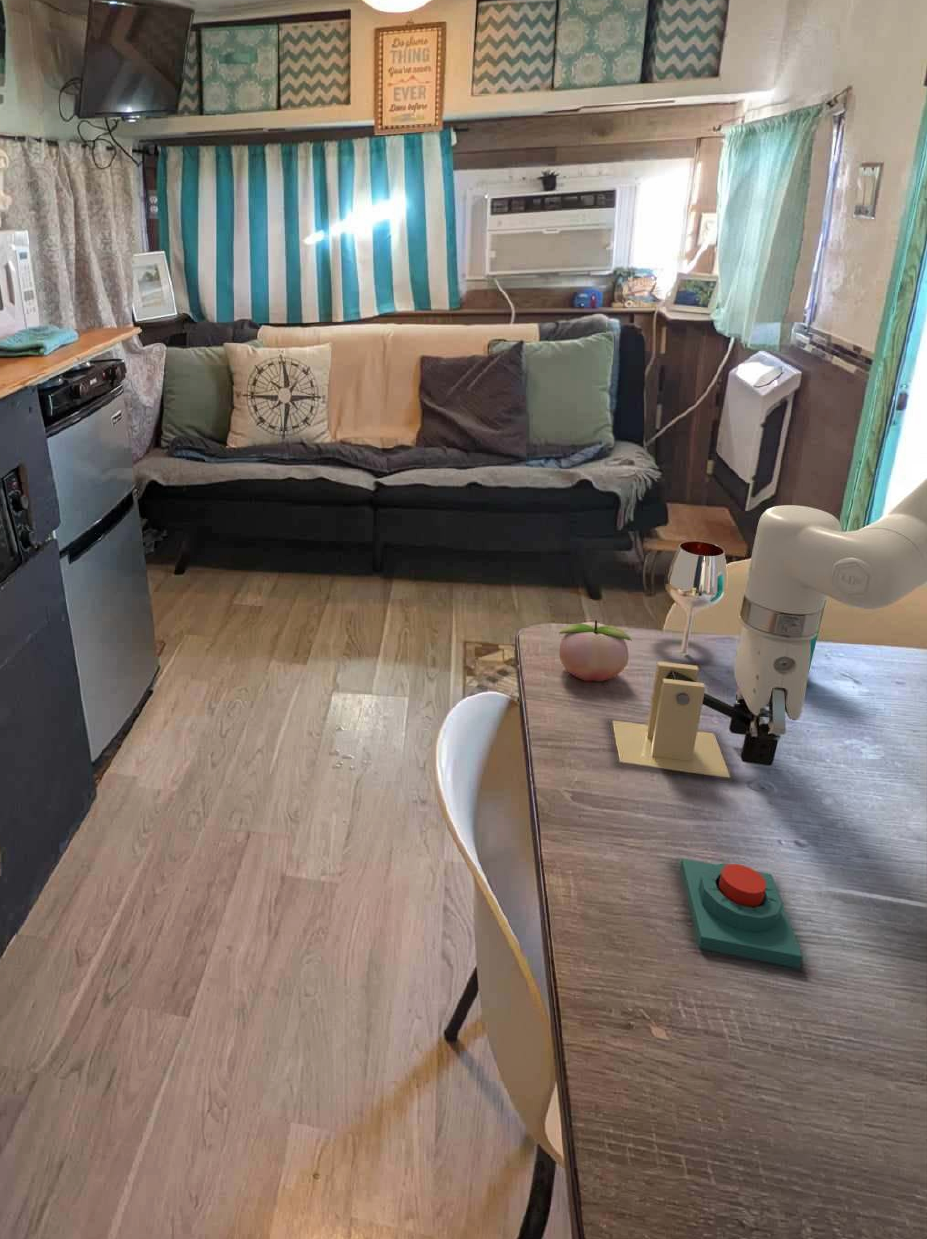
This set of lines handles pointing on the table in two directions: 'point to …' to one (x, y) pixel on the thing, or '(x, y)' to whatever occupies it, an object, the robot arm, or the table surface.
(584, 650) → the decorative fruit
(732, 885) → the button
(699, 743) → the bracket
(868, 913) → the table surface
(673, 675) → the lever
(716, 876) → the control block
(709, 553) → the wineglass
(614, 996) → the table surface
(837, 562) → the robot arm
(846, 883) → the table surface
